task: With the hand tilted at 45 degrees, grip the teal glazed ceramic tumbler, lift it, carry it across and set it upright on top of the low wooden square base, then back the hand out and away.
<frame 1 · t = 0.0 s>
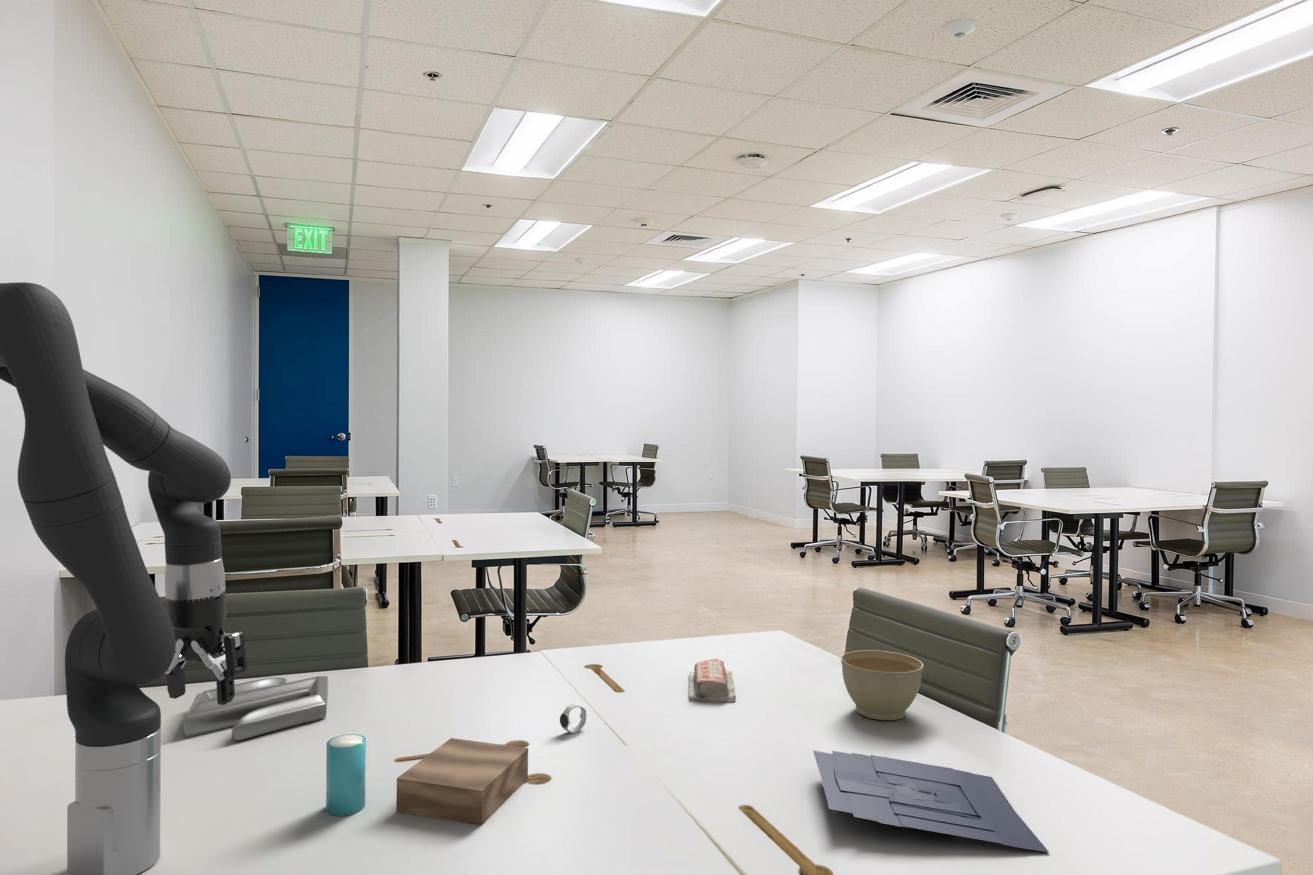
hand: (201, 699, 117), 17 cm above the table, fingers open, 8 cm apart
packaged product: (711, 690, 179), on the table
wooden square base: (465, 794, 126), on the table
planter bowl: (880, 714, 164), on the table
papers: (917, 809, 124), on the table
emblem: (260, 716, 159), on the table
tumbler: (345, 807, 121), on the table
wristwatch: (574, 732, 152), on the table
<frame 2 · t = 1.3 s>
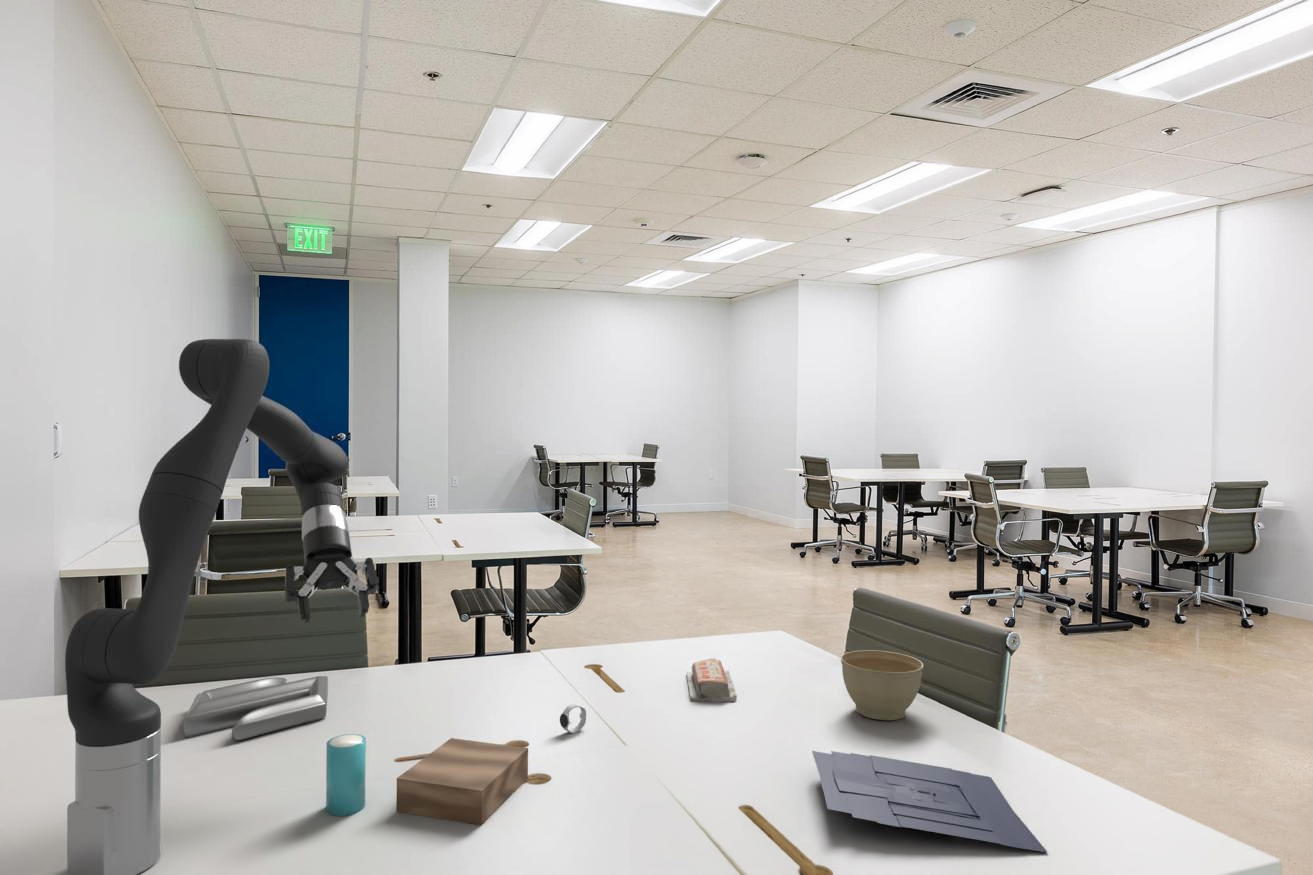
hand: (335, 617, 131), 26 cm above the table, fingers open, 8 cm apart
nothing on the table moved.
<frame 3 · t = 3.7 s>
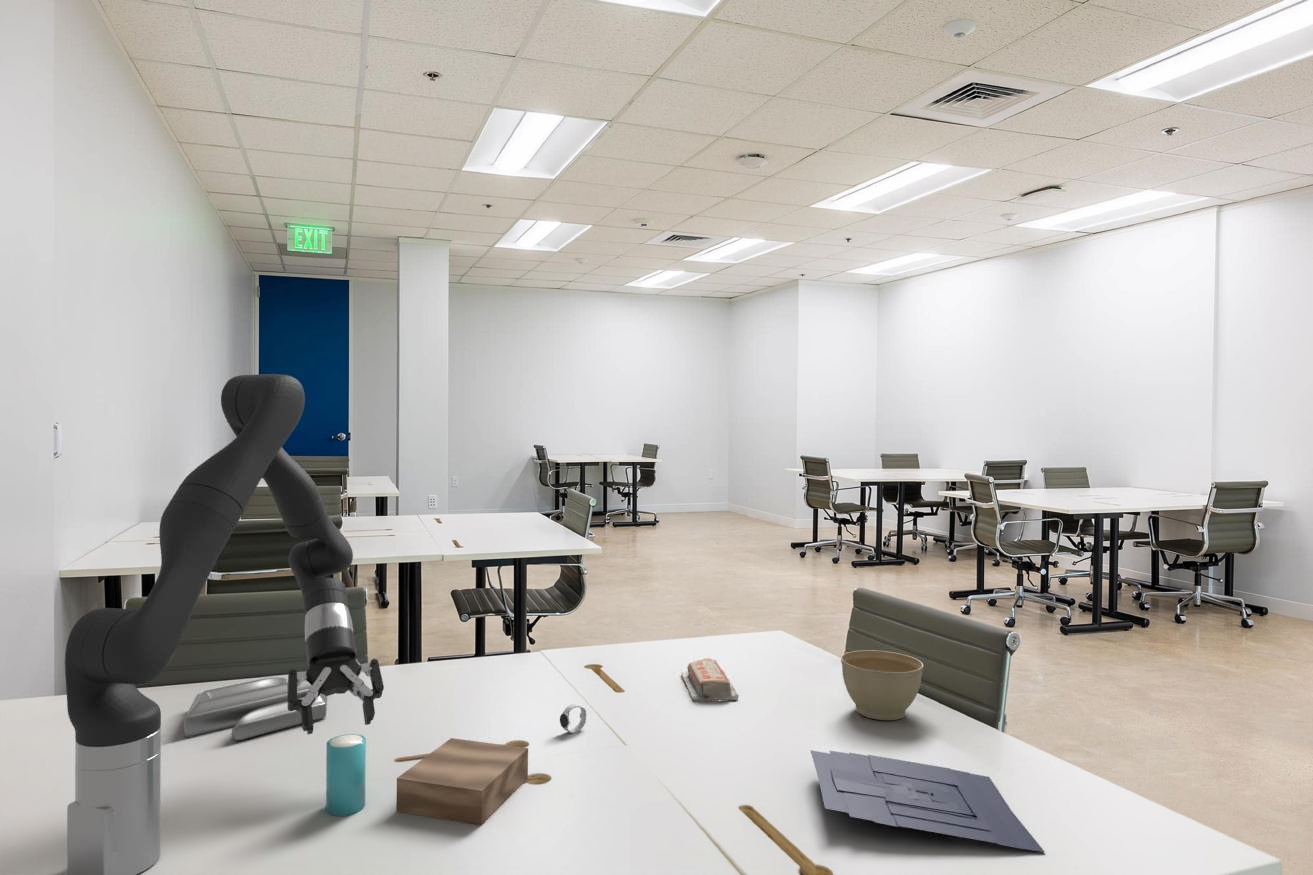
hand: (340, 727, 126), 10 cm above the table, fingers open, 8 cm apart
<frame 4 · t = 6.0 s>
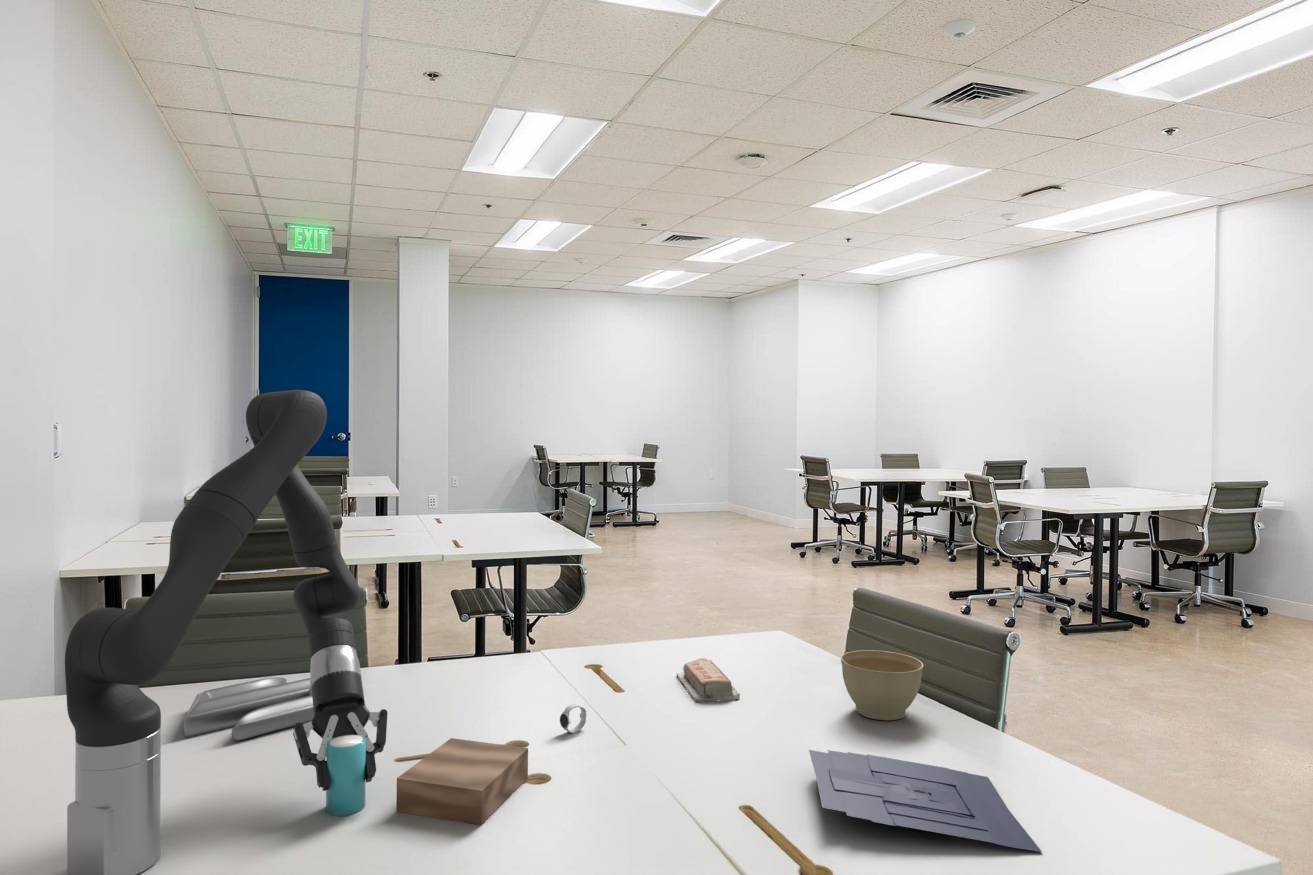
hand: (348, 783, 119), 4 cm above the table, fingers closed on tumbler, 5 cm apart
tumbler: (345, 807, 121), on the table, touching gripper
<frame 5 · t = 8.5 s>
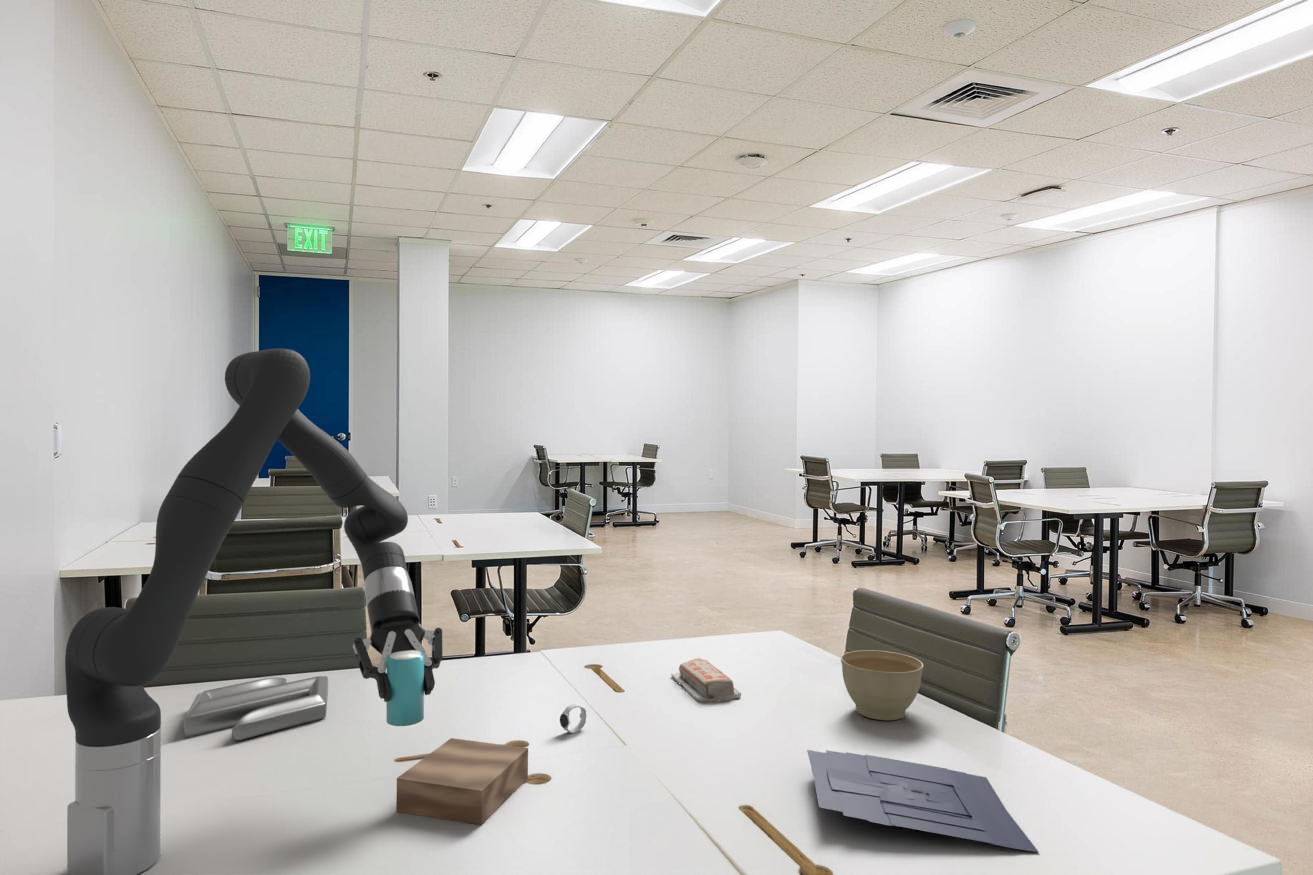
hand: (408, 695, 122), 16 cm above the table, fingers closed on tumbler, 5 cm apart
tumbler: (405, 719, 124), point 12 cm above the table, touching gripper
when the fingers open (11 cm above the table, at t = 10.9 s): tumbler drops 1 cm, resting on wooden square base.
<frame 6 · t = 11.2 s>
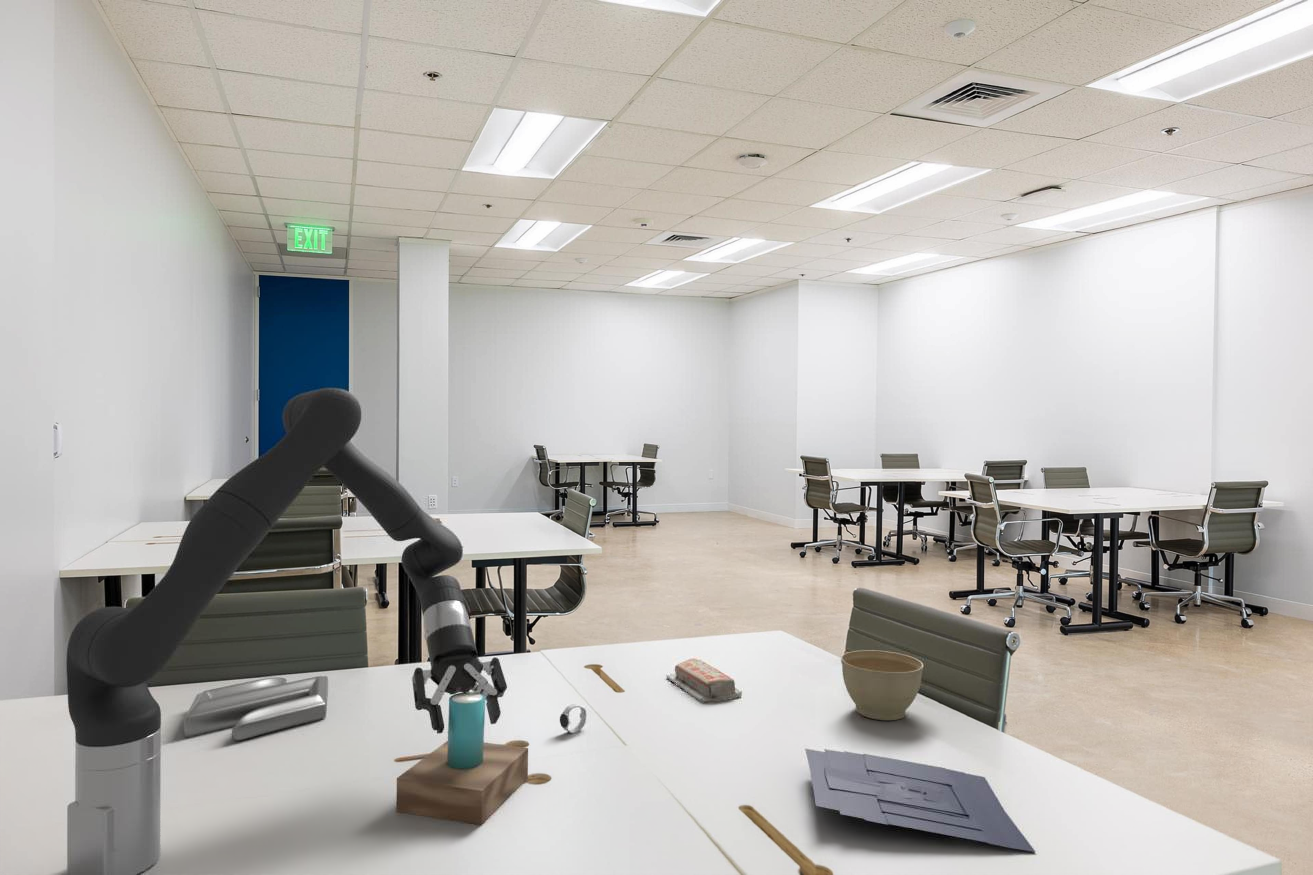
hand: (468, 726, 124), 11 cm above the table, fingers open, 8 cm apart
tumbler: (465, 761, 126), point 5 cm above the table, touching wooden square base
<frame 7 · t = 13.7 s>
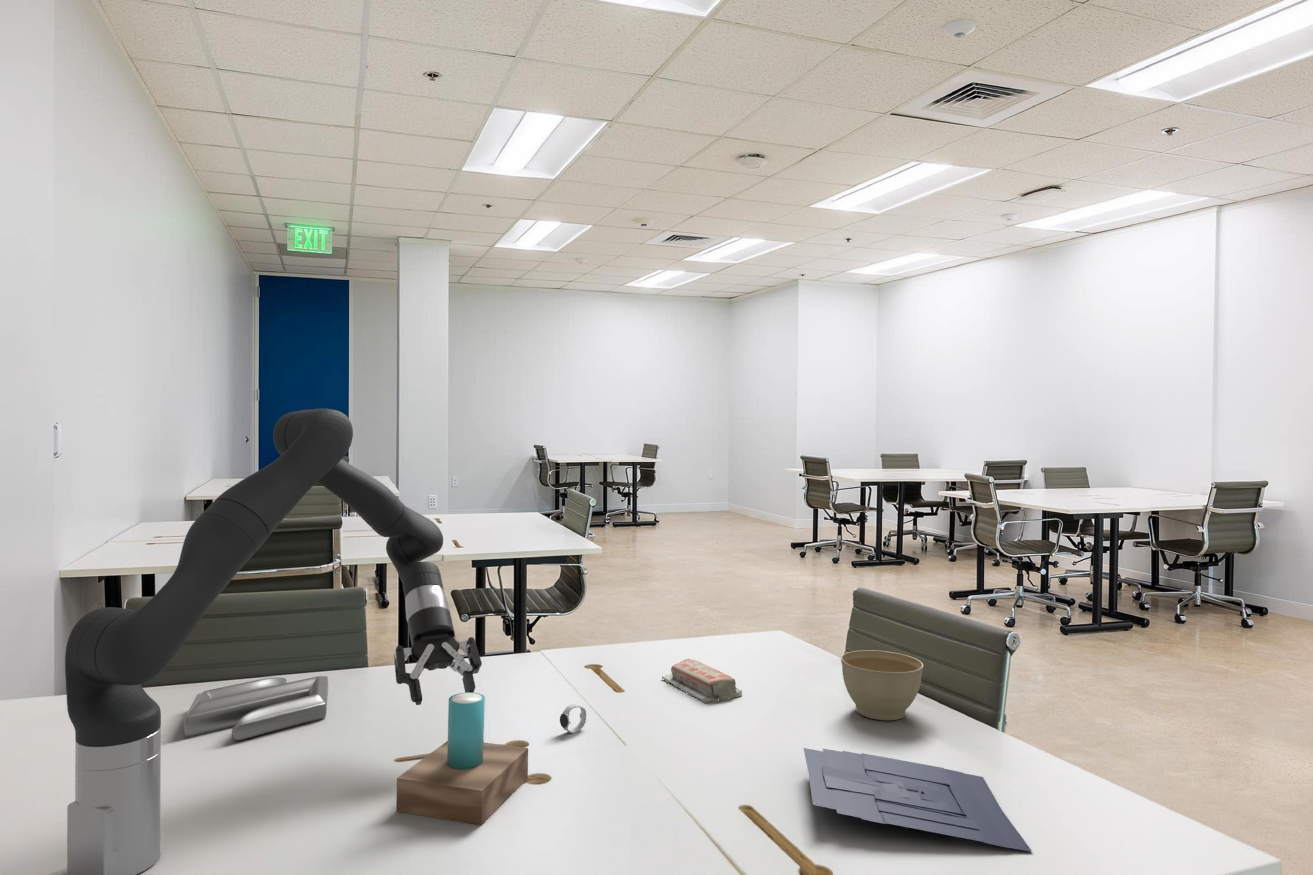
hand: (445, 698, 136), 11 cm above the table, fingers open, 8 cm apart
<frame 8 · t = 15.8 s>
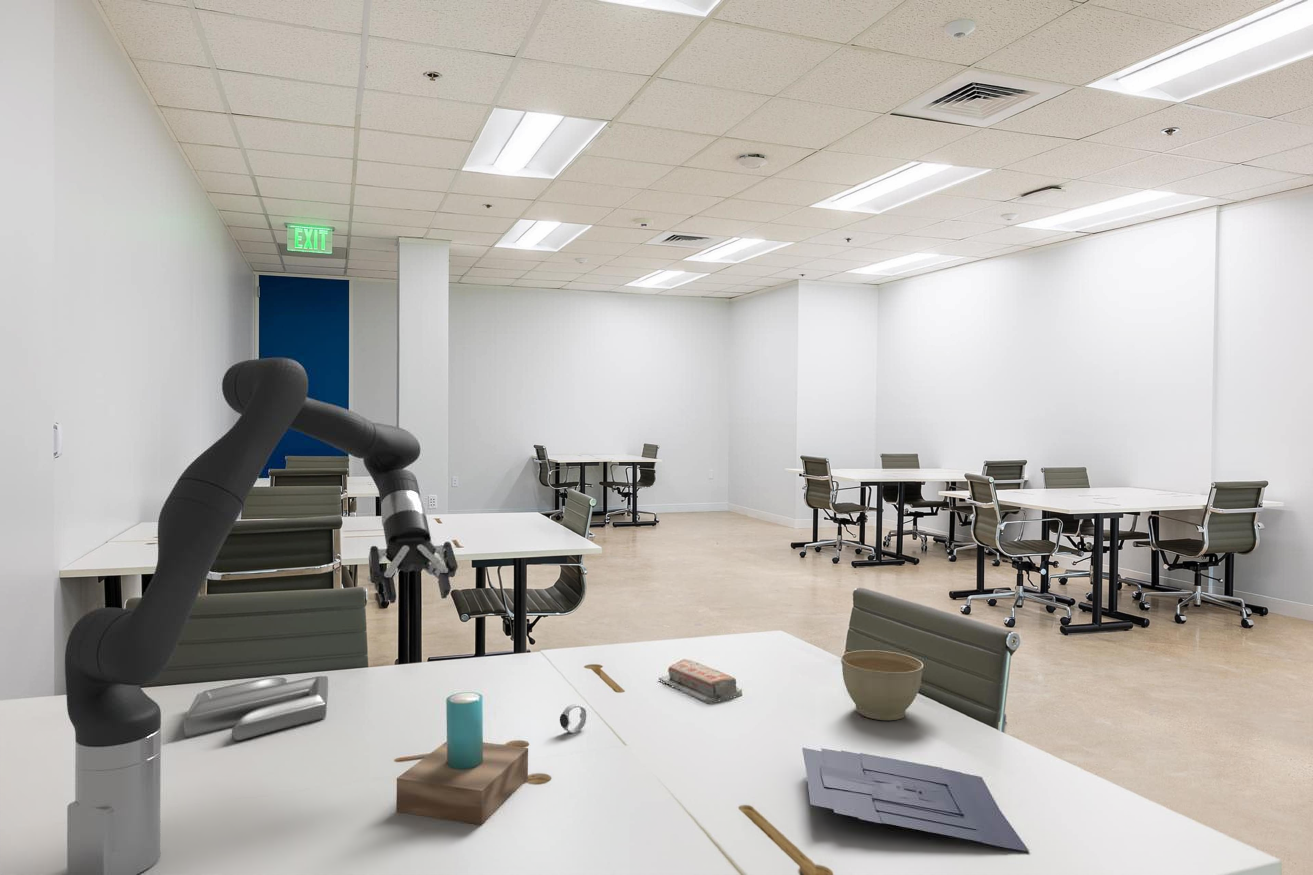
hand: (419, 598, 134), 29 cm above the table, fingers open, 8 cm apart
at the end: tumbler inside the target area on the wooden square base (0.1 cm from its centre), point 5.1 cm above the wooden square base's base; tumbler tilted 1° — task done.
